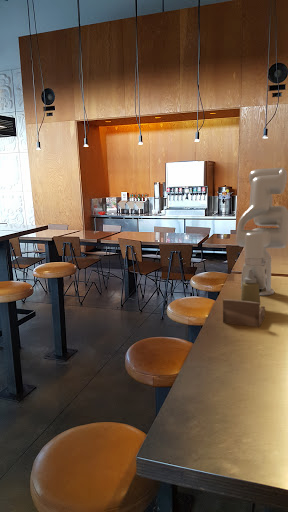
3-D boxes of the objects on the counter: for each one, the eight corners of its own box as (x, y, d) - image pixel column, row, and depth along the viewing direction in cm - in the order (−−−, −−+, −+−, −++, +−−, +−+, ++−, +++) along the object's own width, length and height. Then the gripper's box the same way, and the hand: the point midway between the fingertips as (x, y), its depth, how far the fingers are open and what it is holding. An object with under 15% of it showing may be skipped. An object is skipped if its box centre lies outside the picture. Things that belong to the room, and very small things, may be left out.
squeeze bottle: (261, 315, 146) (262, 271, 143) (240, 314, 148) (240, 271, 145) (259, 309, 154) (259, 267, 151) (239, 308, 156) (239, 267, 153)
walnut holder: (231, 313, 150) (231, 292, 149) (264, 317, 144) (264, 295, 142) (223, 322, 141) (222, 299, 139) (258, 327, 134) (258, 303, 133)
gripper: (274, 261, 153) (273, 303, 156) (238, 259, 160) (238, 299, 163) (270, 264, 146) (270, 308, 149) (233, 262, 153) (233, 304, 156)
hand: (253, 303), depth 156 cm, fingers closed
